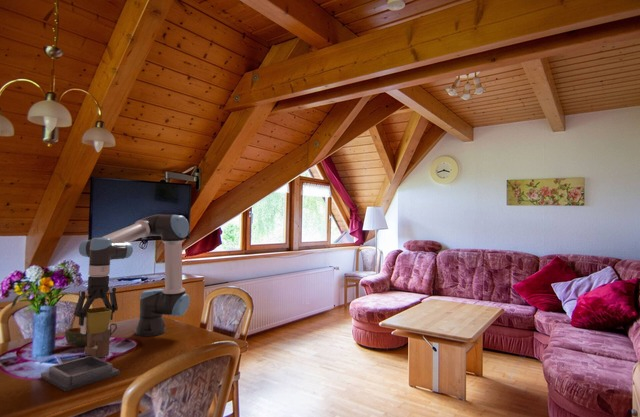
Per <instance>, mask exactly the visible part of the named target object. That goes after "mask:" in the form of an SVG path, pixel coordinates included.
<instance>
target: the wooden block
mask: <svg viewBox="0 0 640 417" xmlns="http://www.w3.org/2000/svg"><path fill="white" fill-rule="evenodd" d="M110 338H111V336H110V329H106V330H105V331H104V332H101V333H94V334H90V333H89V332H88V334H87V346H86V347H85V348H84V355H85V354H86V355H85V356H95V357H98V358H100V357H102V358H101V359H103V357H104V358H106V357H108V356H107V355H109V356H110ZM96 341H97V346H96ZM105 356H106V357H105Z"/></svg>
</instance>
